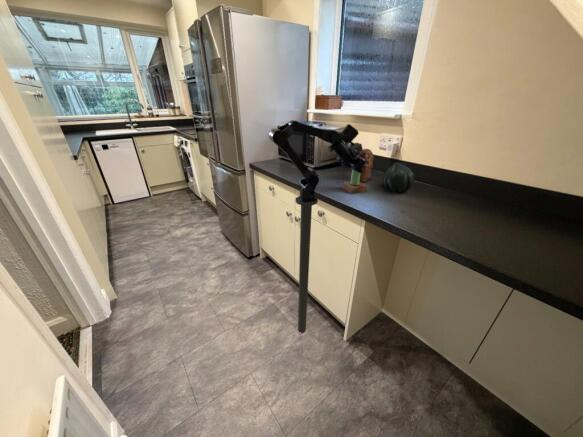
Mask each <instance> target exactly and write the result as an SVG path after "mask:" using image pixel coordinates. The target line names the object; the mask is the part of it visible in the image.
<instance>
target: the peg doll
mask: <svg viewBox="0 0 583 437" xmlns="http://www.w3.org/2000/svg"><path fill="white" fill-rule="evenodd" d="M360 174H361V173H359V172H357V171H355V170H352V169H351V176H350V182H351V184H353V185H358V184H359V181H360Z"/></svg>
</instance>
